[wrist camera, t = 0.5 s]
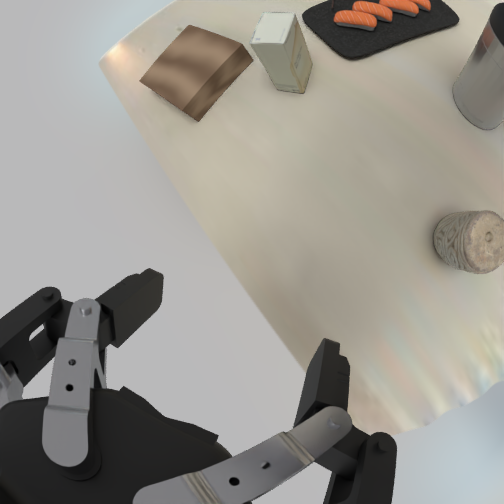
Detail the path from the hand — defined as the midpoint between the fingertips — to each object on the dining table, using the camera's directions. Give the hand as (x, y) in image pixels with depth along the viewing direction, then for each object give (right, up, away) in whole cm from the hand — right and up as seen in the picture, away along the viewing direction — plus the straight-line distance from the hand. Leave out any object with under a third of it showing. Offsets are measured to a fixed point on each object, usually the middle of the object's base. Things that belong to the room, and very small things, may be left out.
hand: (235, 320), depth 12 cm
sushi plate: (+20, +51, +18) cm, 57 cm away
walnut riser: (-8, +34, +28) cm, 45 cm away
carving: (+27, +5, +17) cm, 32 cm away
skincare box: (+7, +30, +23) cm, 38 cm away
